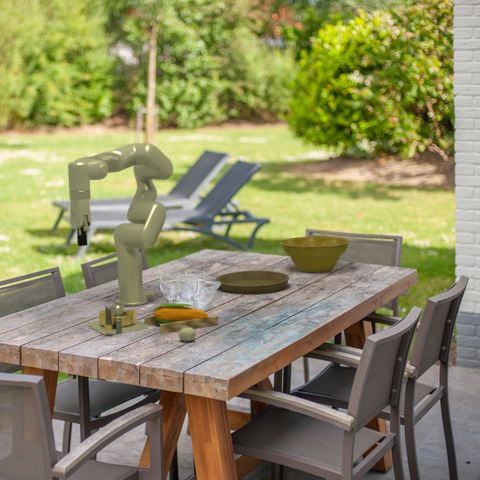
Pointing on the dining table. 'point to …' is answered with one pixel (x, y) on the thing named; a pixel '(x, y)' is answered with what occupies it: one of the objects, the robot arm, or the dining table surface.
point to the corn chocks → (182, 323)
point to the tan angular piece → (109, 318)
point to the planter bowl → (315, 252)
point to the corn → (177, 313)
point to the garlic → (187, 334)
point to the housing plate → (118, 323)
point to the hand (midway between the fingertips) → (82, 245)
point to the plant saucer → (252, 282)
